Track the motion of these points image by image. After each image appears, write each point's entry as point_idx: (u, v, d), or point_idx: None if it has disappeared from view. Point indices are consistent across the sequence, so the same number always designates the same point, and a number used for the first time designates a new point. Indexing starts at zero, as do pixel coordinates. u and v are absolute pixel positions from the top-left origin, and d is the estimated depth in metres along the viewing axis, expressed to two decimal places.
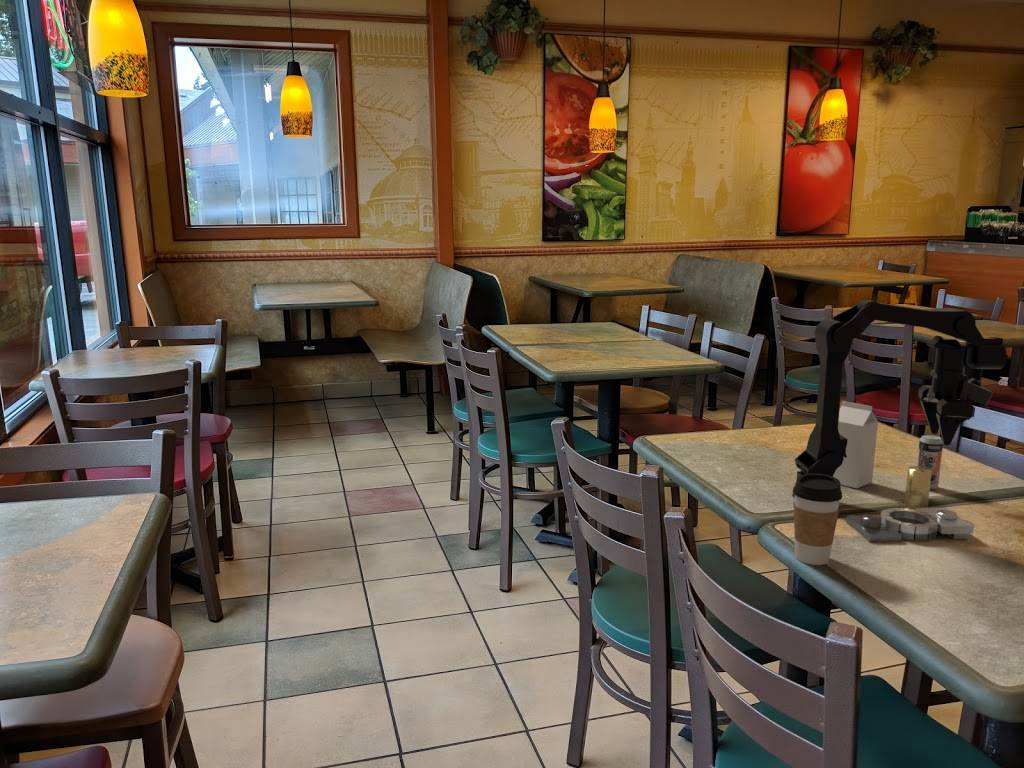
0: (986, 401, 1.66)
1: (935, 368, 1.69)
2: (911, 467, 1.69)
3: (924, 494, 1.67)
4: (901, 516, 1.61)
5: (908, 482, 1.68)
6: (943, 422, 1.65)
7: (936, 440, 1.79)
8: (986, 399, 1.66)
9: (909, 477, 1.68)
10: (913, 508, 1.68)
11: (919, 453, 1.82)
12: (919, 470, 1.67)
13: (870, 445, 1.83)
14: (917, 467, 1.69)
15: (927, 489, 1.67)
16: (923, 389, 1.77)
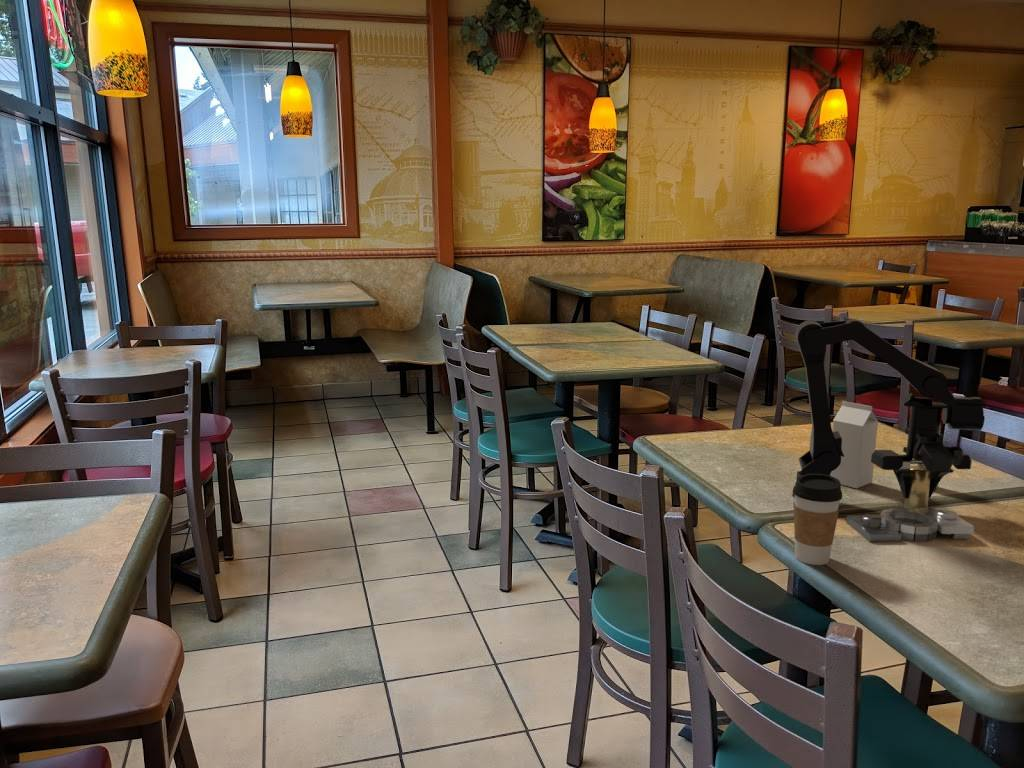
0: (928, 466, 1.60)
1: None
2: (911, 467, 1.69)
3: (924, 494, 1.67)
4: (901, 516, 1.61)
5: None
6: (896, 472, 1.70)
7: None
8: (928, 464, 1.60)
9: None
10: (913, 508, 1.68)
11: None
12: (919, 470, 1.67)
13: (870, 445, 1.83)
14: (917, 467, 1.69)
15: (927, 489, 1.67)
16: None
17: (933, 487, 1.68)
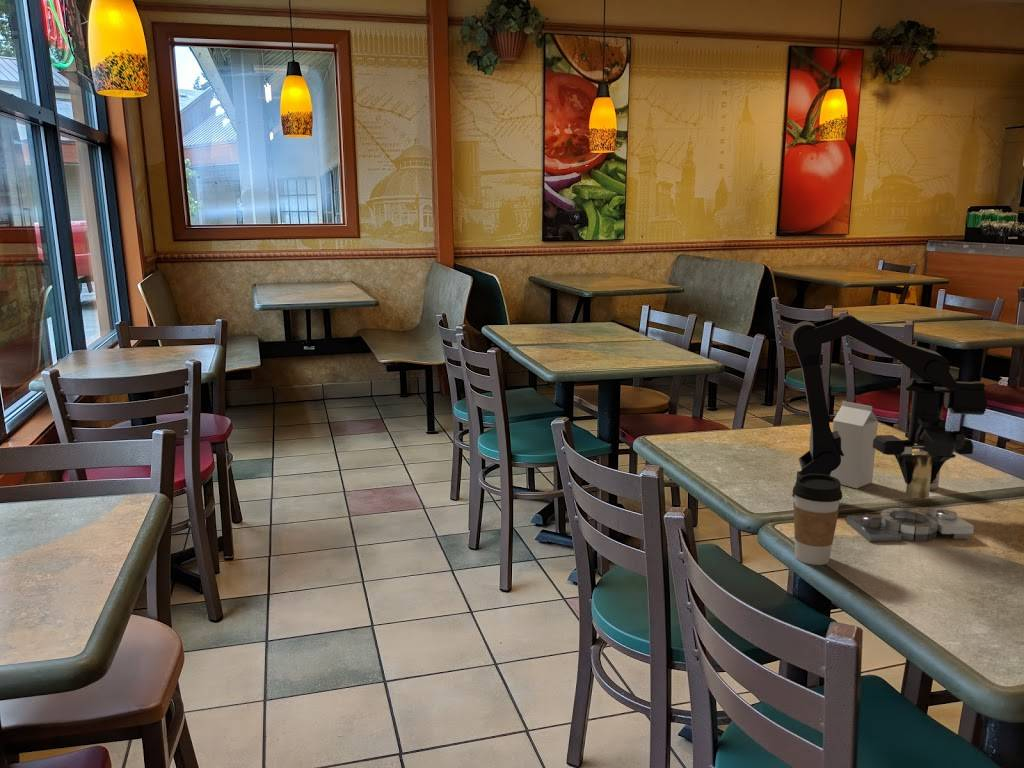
0: (930, 450, 1.60)
1: None
2: (913, 452, 1.68)
3: (926, 479, 1.66)
4: (901, 516, 1.61)
5: None
6: (897, 457, 1.69)
7: None
8: (930, 448, 1.60)
9: None
10: (915, 493, 1.67)
11: None
12: (921, 455, 1.66)
13: (870, 445, 1.83)
14: (919, 452, 1.68)
15: (929, 474, 1.66)
16: None
17: (935, 472, 1.67)
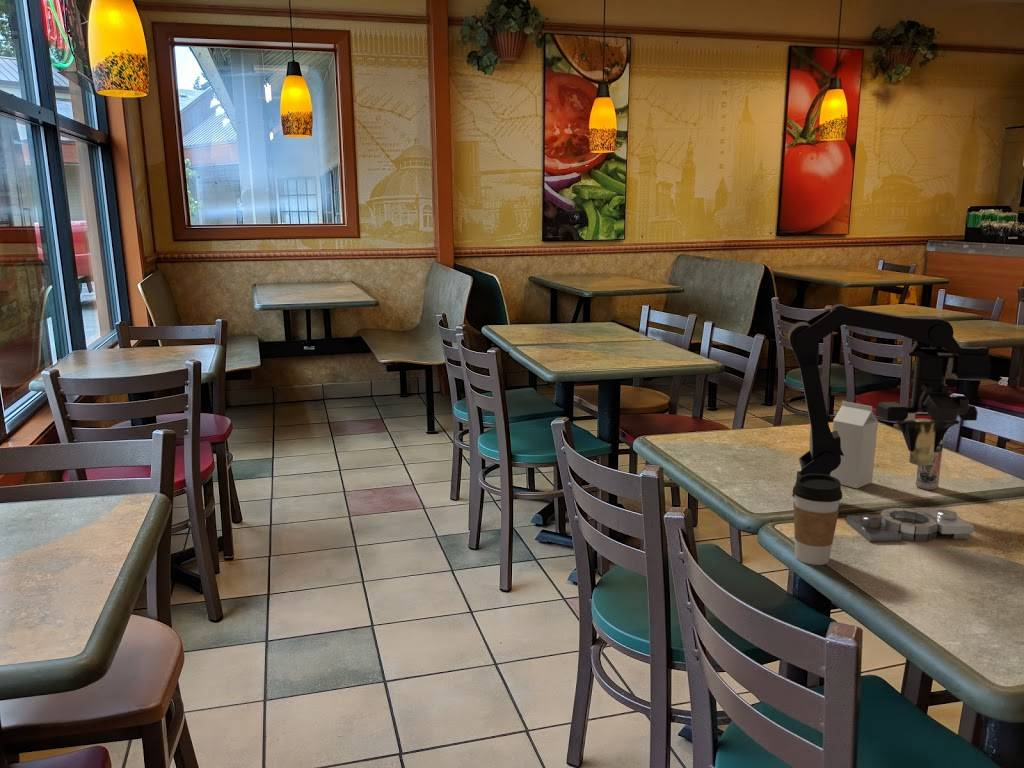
0: (934, 416, 1.58)
1: None
2: (916, 419, 1.67)
3: (929, 446, 1.65)
4: (901, 516, 1.61)
5: None
6: (900, 424, 1.67)
7: None
8: (934, 413, 1.58)
9: None
10: (918, 461, 1.66)
11: None
12: (925, 422, 1.65)
13: (870, 445, 1.83)
14: (922, 419, 1.67)
15: (932, 441, 1.65)
16: None
17: (939, 439, 1.66)
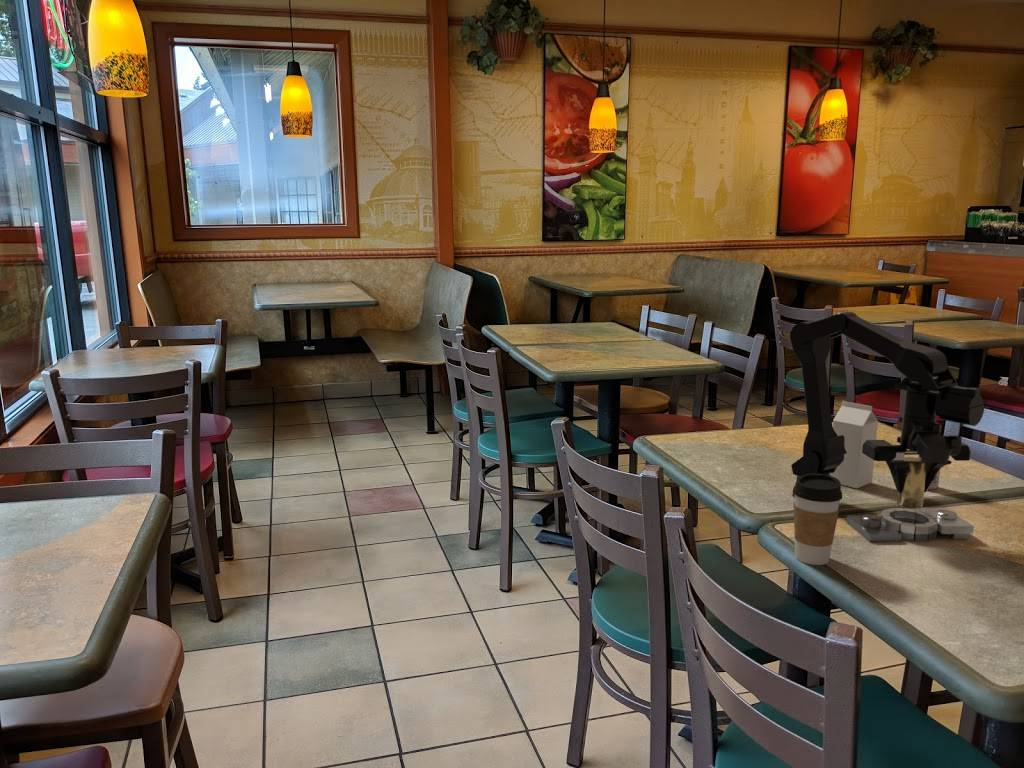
0: (923, 457, 1.47)
1: None
2: (905, 458, 1.56)
3: (919, 487, 1.54)
4: (901, 516, 1.61)
5: None
6: (889, 464, 1.57)
7: None
8: (924, 454, 1.47)
9: None
10: (907, 503, 1.55)
11: None
12: (914, 461, 1.54)
13: None
14: (912, 458, 1.56)
15: (922, 482, 1.54)
16: None
17: (929, 480, 1.55)
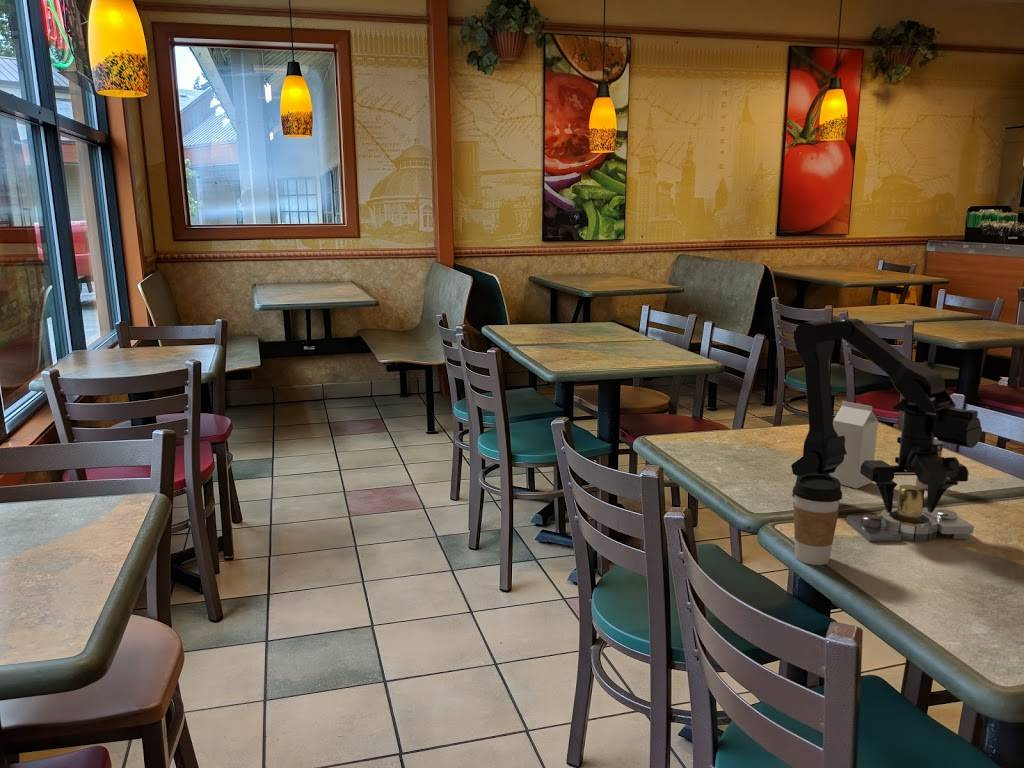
0: (921, 478, 1.48)
1: None
2: (903, 486, 1.57)
3: (916, 515, 1.55)
4: None
5: (899, 502, 1.56)
6: (878, 484, 1.57)
7: (936, 440, 1.79)
8: (922, 476, 1.48)
9: (900, 497, 1.56)
10: None
11: None
12: (912, 489, 1.55)
13: (870, 445, 1.83)
14: (909, 486, 1.57)
15: (919, 510, 1.55)
16: None
17: (936, 500, 1.56)
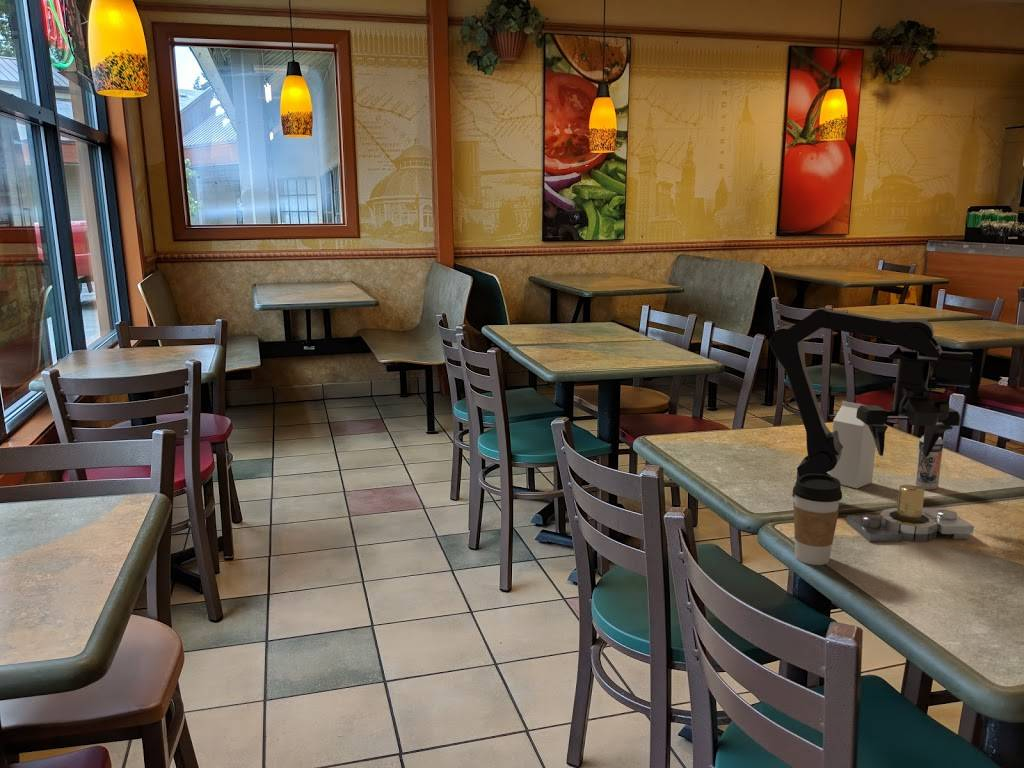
0: (913, 420, 1.55)
1: None
2: (903, 486, 1.57)
3: (916, 515, 1.55)
4: None
5: (899, 502, 1.56)
6: (871, 428, 1.65)
7: None
8: (913, 418, 1.55)
9: (900, 497, 1.56)
10: None
11: (919, 453, 1.82)
12: (912, 489, 1.55)
13: (870, 445, 1.83)
14: (909, 486, 1.57)
15: (919, 510, 1.55)
16: None
17: (932, 444, 1.63)
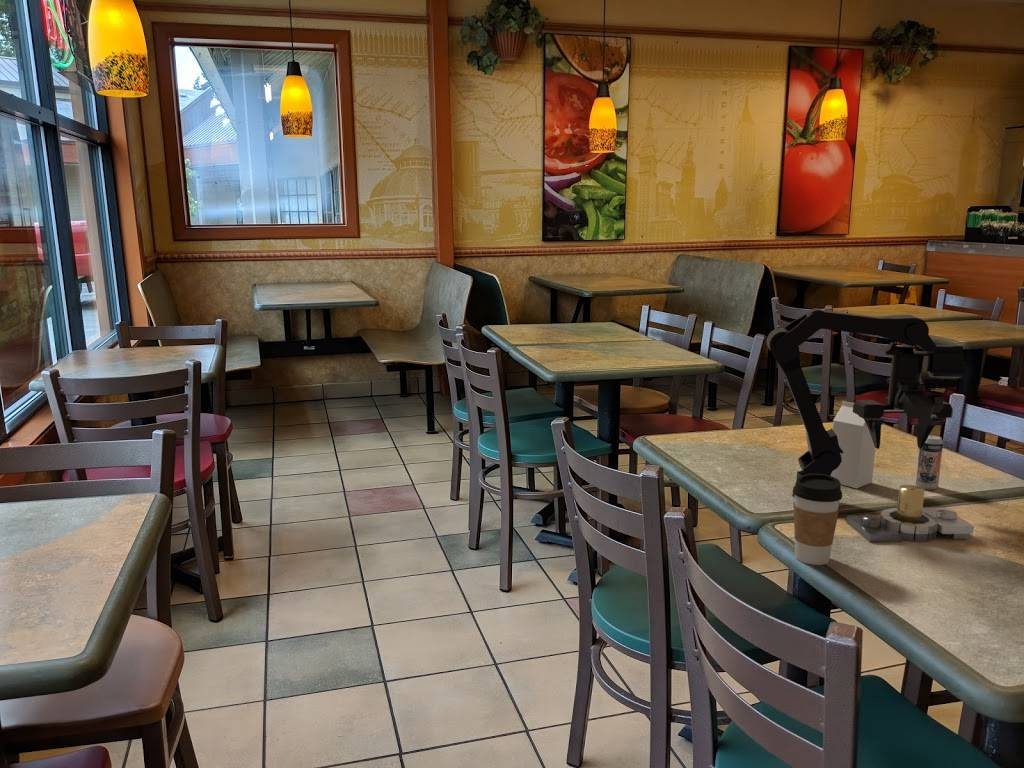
0: (909, 413, 1.60)
1: None
2: (903, 486, 1.57)
3: (916, 515, 1.55)
4: None
5: (899, 502, 1.56)
6: (867, 422, 1.69)
7: (936, 440, 1.79)
8: (909, 411, 1.60)
9: (900, 497, 1.56)
10: None
11: (919, 453, 1.82)
12: (912, 489, 1.55)
13: (870, 445, 1.83)
14: (909, 486, 1.57)
15: (919, 510, 1.55)
16: None
17: (925, 436, 1.68)
